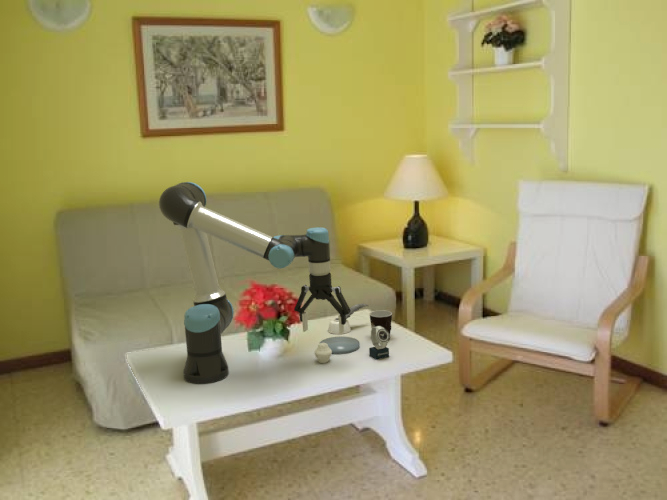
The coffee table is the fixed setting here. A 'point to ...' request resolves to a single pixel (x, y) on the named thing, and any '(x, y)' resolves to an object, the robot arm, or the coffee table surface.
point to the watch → (379, 337)
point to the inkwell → (335, 322)
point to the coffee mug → (381, 319)
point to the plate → (342, 344)
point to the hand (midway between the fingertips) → (323, 331)
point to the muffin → (323, 353)
